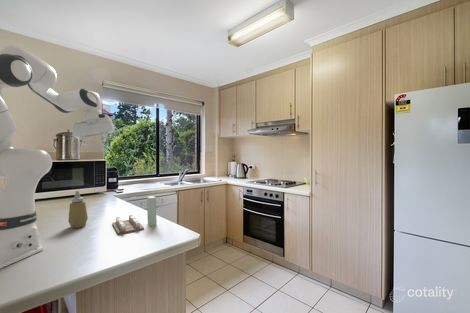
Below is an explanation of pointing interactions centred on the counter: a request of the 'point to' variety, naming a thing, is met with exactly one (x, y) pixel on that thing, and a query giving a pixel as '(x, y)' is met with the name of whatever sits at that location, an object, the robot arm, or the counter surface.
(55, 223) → the counter surface
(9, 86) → the robot arm
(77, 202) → the squeeze bottle
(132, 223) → the walnut channel board
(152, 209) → the sage slat
